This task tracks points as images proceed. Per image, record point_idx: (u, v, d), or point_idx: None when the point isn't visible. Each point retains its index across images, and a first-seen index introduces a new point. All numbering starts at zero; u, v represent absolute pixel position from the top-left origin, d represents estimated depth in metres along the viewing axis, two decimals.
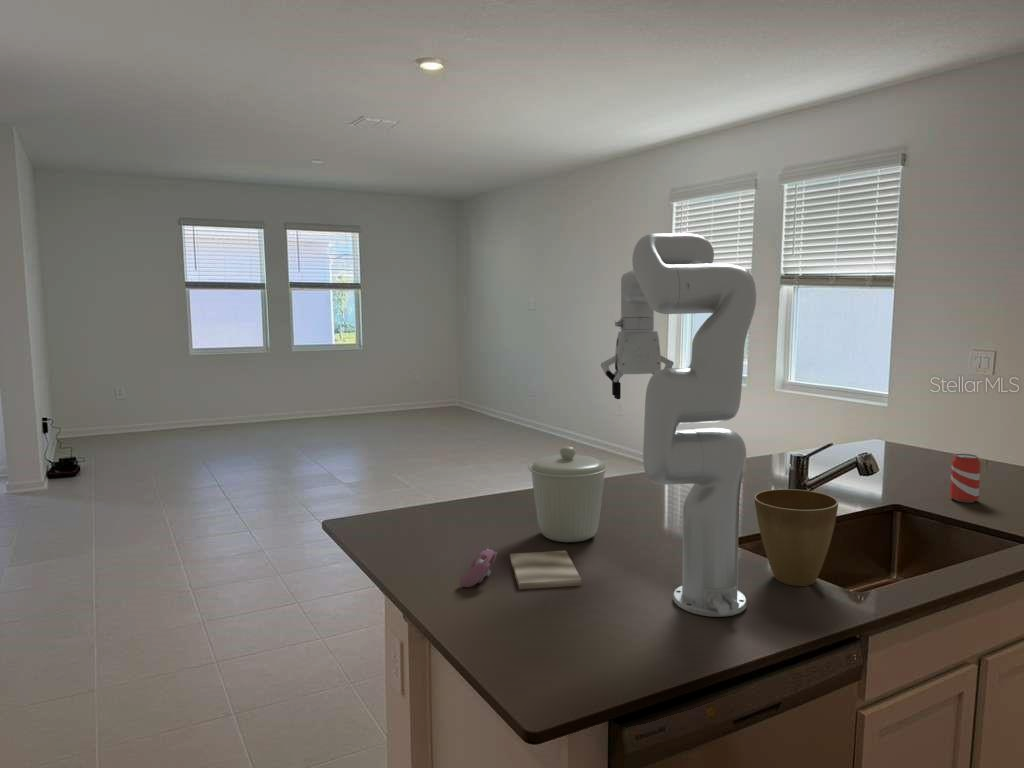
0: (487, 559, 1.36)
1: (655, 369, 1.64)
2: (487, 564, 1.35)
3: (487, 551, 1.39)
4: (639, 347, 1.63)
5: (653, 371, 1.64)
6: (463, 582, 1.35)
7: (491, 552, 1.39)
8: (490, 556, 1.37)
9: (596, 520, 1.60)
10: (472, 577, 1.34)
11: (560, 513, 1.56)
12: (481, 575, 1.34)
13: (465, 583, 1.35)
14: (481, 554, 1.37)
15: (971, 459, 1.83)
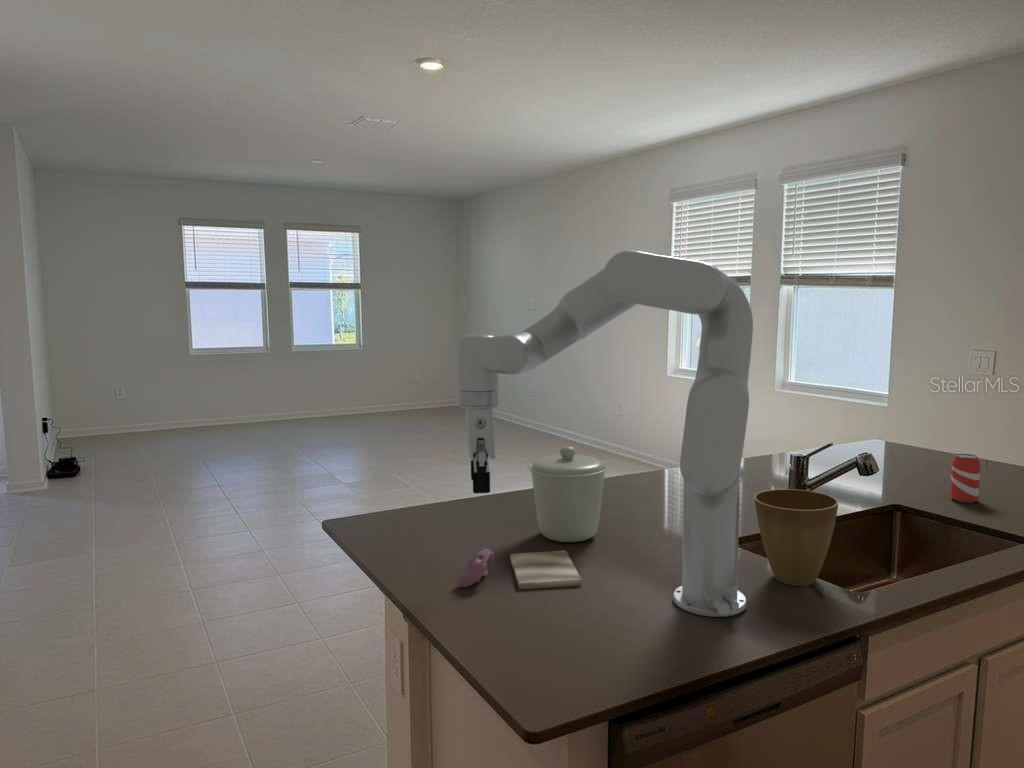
0: (484, 559, 1.36)
1: None
2: (484, 564, 1.35)
3: (484, 551, 1.39)
4: None
5: None
6: (460, 582, 1.35)
7: (488, 552, 1.39)
8: (487, 556, 1.37)
9: (596, 520, 1.60)
10: (470, 577, 1.34)
11: (560, 513, 1.56)
12: (478, 575, 1.34)
13: (462, 583, 1.35)
14: (478, 554, 1.37)
15: (971, 459, 1.83)
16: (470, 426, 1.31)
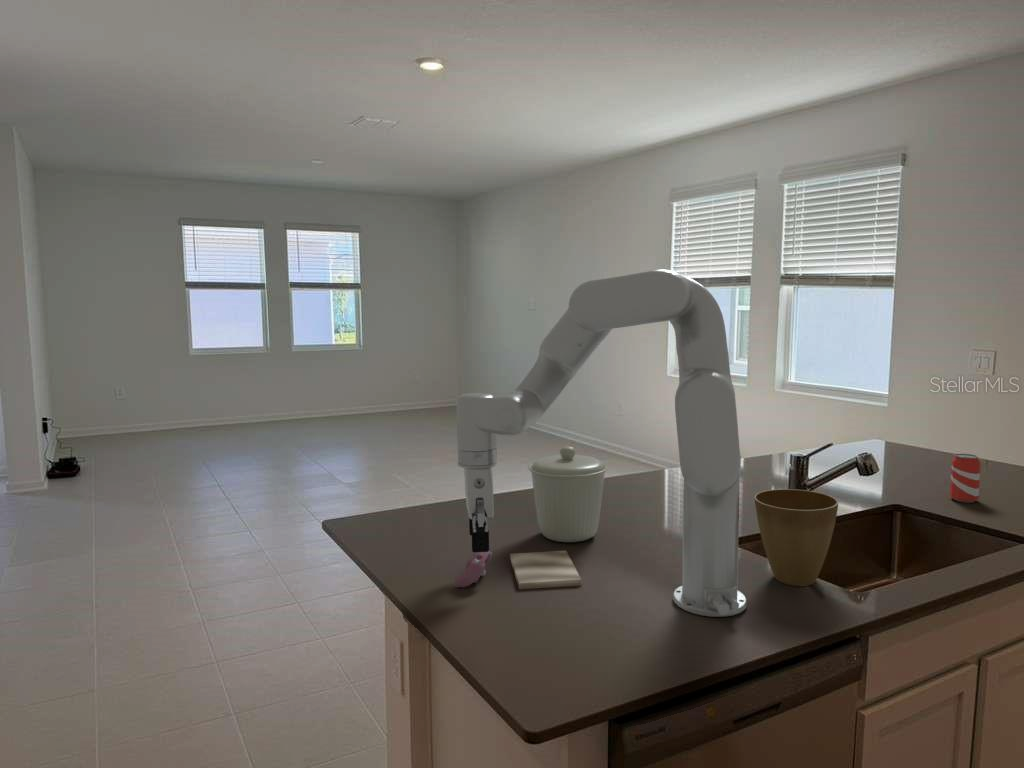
0: (482, 559, 1.36)
1: None
2: (482, 564, 1.35)
3: None
4: None
5: None
6: (458, 582, 1.35)
7: (486, 552, 1.39)
8: (485, 556, 1.37)
9: (596, 520, 1.60)
10: (468, 577, 1.34)
11: (560, 513, 1.56)
12: (477, 575, 1.34)
13: (460, 583, 1.35)
14: (476, 554, 1.37)
15: (971, 459, 1.83)
16: (469, 486, 1.32)
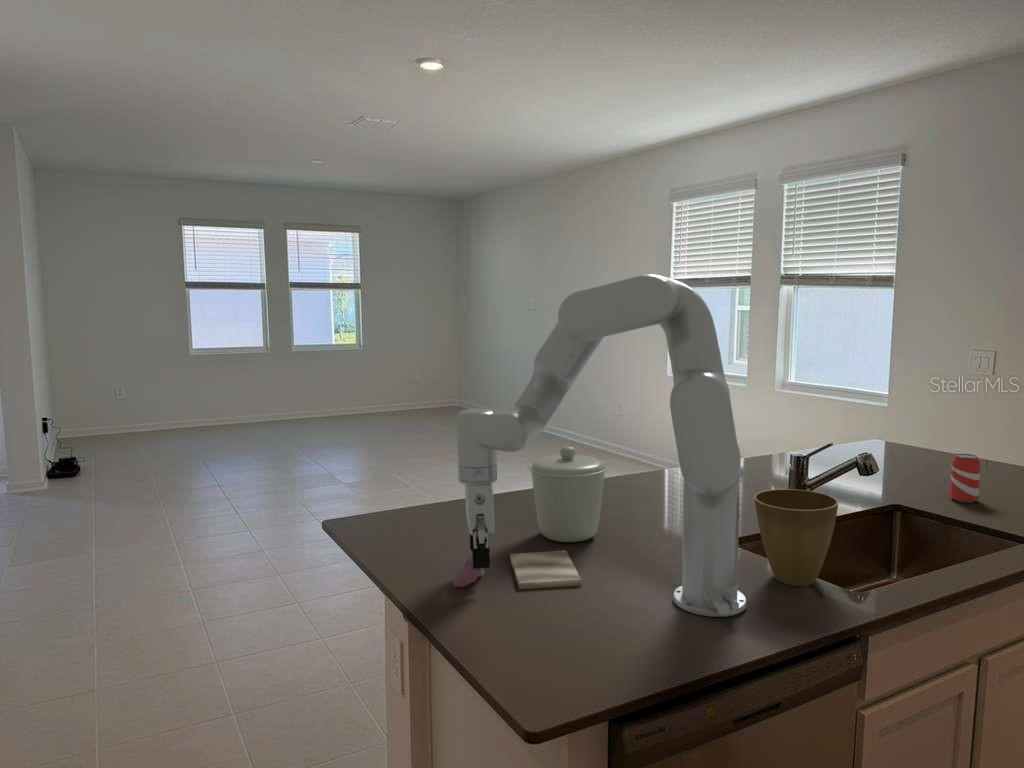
0: None
1: None
2: None
3: None
4: None
5: None
6: (457, 582, 1.35)
7: None
8: None
9: (596, 520, 1.60)
10: (466, 577, 1.34)
11: (560, 513, 1.56)
12: (475, 575, 1.34)
13: (458, 583, 1.35)
14: None
15: (971, 459, 1.83)
16: (469, 502, 1.32)
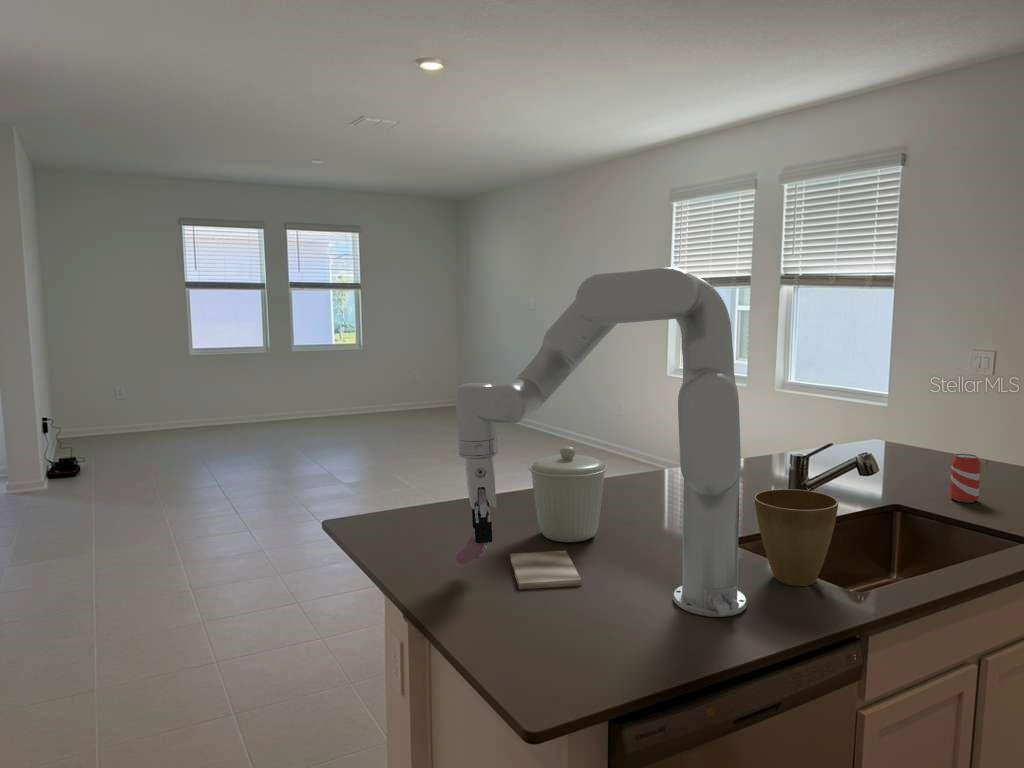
0: None
1: None
2: None
3: None
4: None
5: None
6: (460, 558, 1.34)
7: None
8: None
9: (596, 520, 1.60)
10: (469, 553, 1.34)
11: (560, 513, 1.56)
12: (478, 550, 1.33)
13: (462, 559, 1.34)
14: None
15: (971, 459, 1.83)
16: (470, 476, 1.32)
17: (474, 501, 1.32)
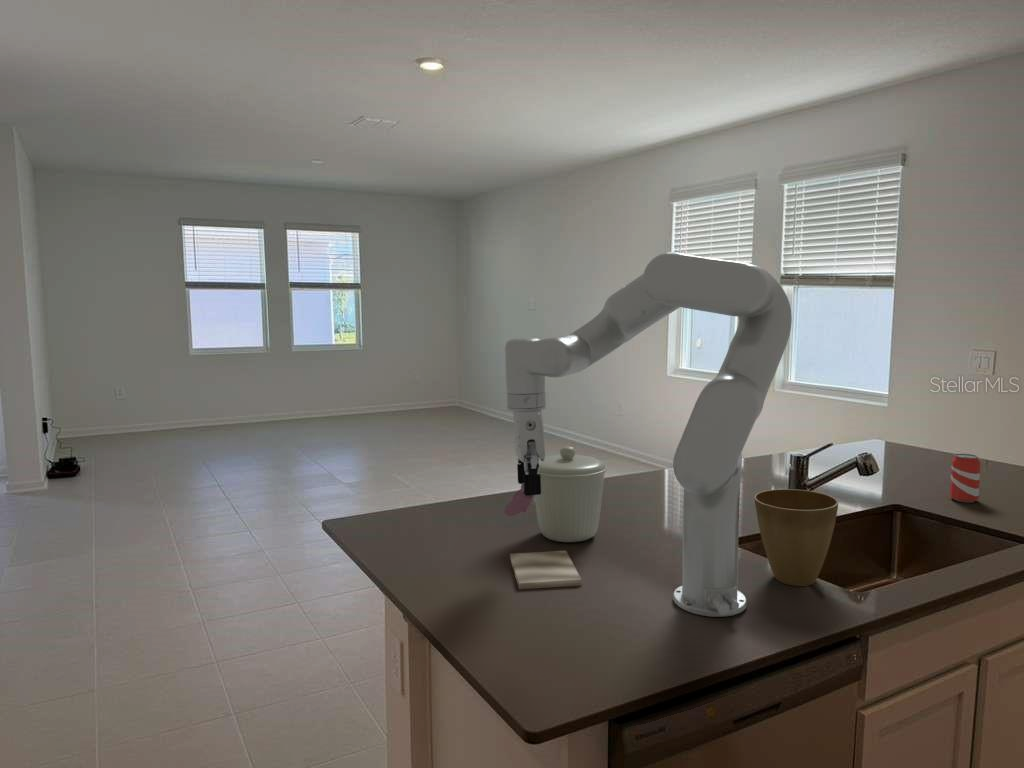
0: None
1: None
2: None
3: None
4: None
5: None
6: (508, 510, 1.36)
7: None
8: None
9: (596, 520, 1.60)
10: (518, 505, 1.35)
11: (560, 513, 1.56)
12: (526, 502, 1.35)
13: (510, 512, 1.36)
14: None
15: (971, 459, 1.83)
16: (520, 428, 1.33)
17: (524, 453, 1.33)
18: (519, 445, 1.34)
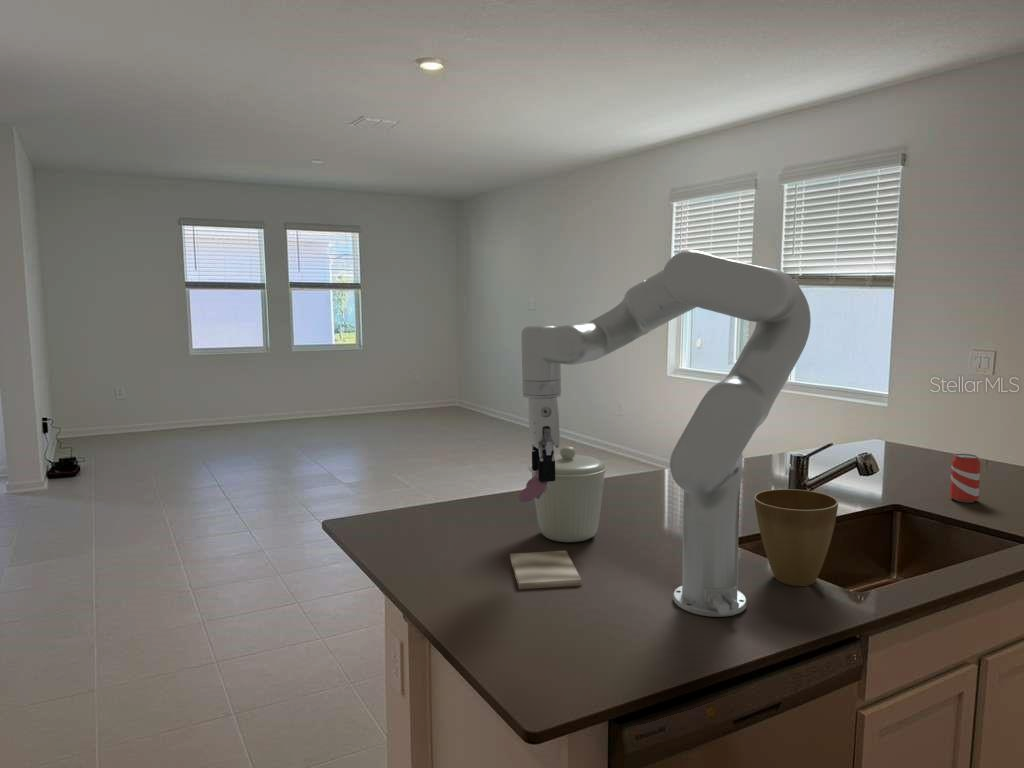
0: None
1: None
2: None
3: None
4: None
5: None
6: (522, 496, 1.36)
7: None
8: None
9: (596, 520, 1.60)
10: (532, 491, 1.36)
11: (560, 513, 1.56)
12: (541, 489, 1.36)
13: (524, 498, 1.36)
14: None
15: (971, 459, 1.83)
16: (536, 415, 1.34)
17: (539, 440, 1.34)
18: (534, 432, 1.35)
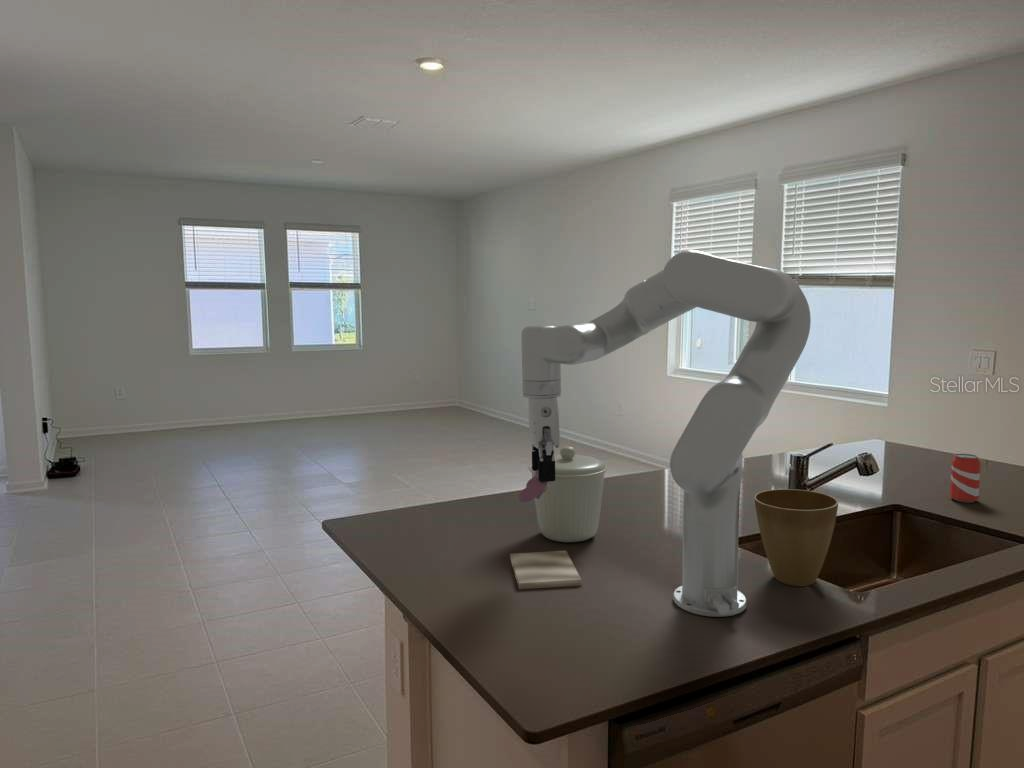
0: None
1: None
2: None
3: None
4: None
5: None
6: (522, 496, 1.36)
7: None
8: None
9: (596, 520, 1.60)
10: (532, 491, 1.36)
11: (560, 513, 1.56)
12: (541, 489, 1.36)
13: (524, 498, 1.36)
14: None
15: (971, 459, 1.83)
16: (536, 415, 1.34)
17: (539, 440, 1.34)
18: (534, 432, 1.35)
